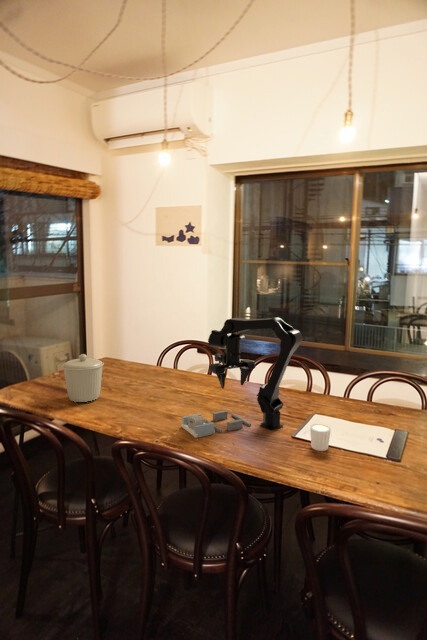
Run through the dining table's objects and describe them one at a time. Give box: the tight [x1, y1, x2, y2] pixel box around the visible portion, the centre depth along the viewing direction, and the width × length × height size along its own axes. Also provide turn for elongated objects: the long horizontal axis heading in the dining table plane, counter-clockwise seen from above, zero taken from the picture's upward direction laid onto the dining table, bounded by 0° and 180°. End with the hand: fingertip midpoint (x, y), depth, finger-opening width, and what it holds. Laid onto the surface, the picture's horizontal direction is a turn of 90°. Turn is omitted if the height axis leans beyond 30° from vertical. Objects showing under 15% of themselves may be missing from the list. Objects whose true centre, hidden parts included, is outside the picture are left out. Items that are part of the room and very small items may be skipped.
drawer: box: [181, 413, 216, 439], centre depth 159 cm, size 11×8×4 cm
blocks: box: [204, 409, 252, 434], centre depth 165 cm, size 12×14×3 cm
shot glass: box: [309, 423, 332, 452], centre depth 145 cm, size 7×7×7 cm
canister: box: [61, 353, 105, 403], centre depth 191 cm, size 18×18×21 cm
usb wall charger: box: [188, 415, 207, 430], centre depth 159 cm, size 4×7×4 cm, turn 133°
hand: (232, 386), depth 172 cm, fingers open, 9 cm apart
